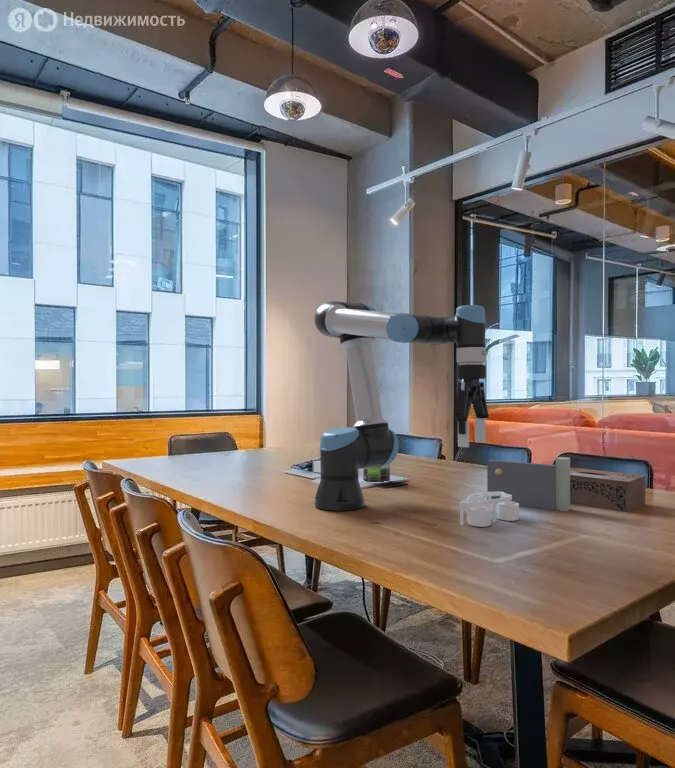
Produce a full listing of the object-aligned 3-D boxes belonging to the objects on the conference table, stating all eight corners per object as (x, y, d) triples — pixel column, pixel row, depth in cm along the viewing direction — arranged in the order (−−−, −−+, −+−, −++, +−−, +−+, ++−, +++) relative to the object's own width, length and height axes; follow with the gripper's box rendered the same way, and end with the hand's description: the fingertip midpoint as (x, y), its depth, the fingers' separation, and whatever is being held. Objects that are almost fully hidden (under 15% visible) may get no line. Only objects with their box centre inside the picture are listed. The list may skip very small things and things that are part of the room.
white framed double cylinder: (475, 535, 145) (475, 506, 145) (444, 525, 155) (444, 498, 154) (527, 524, 156) (527, 497, 156) (495, 515, 166) (495, 490, 165)
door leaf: (563, 517, 163) (563, 460, 163) (484, 506, 176) (484, 454, 176) (571, 511, 170) (571, 457, 170) (495, 501, 184) (495, 451, 184)
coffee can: (387, 485, 212) (387, 447, 212) (360, 483, 215) (360, 446, 215) (392, 480, 222) (392, 443, 221) (366, 479, 225) (366, 443, 224)
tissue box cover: (541, 503, 183) (542, 471, 183) (561, 496, 193) (562, 466, 193) (628, 516, 165) (628, 481, 165) (645, 508, 175) (645, 475, 175)
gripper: (469, 362, 140) (470, 450, 140) (499, 364, 161) (499, 440, 161) (440, 363, 144) (441, 448, 144) (472, 365, 165) (473, 439, 165)
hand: (472, 444), depth 153 cm, fingers open, 13 cm apart
